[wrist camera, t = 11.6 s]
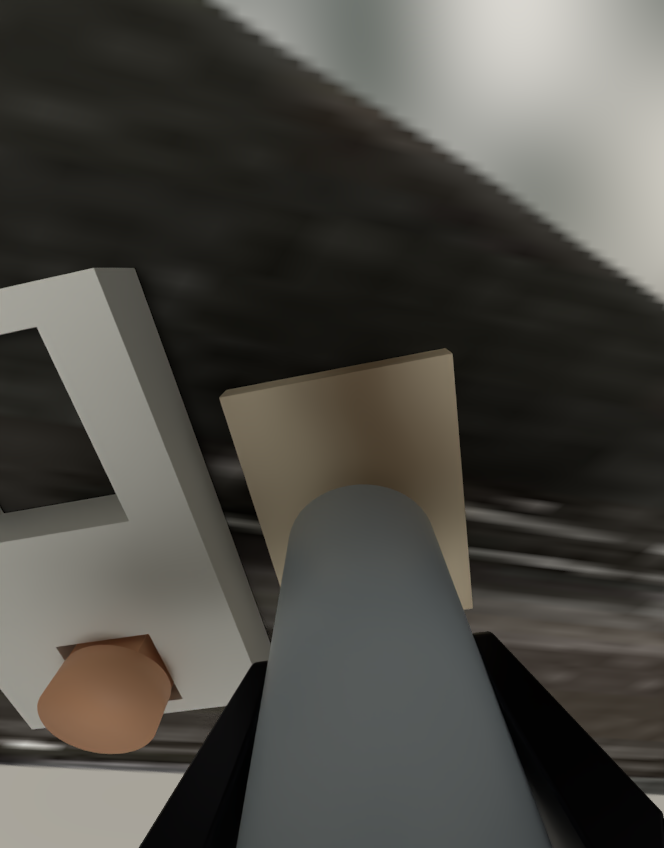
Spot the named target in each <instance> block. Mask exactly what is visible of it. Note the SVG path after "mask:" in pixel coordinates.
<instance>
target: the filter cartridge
mask: <svg viewBox="0 0 664 848" xmlns="http://www.w3.org/2000/svg"><path fill="white" fill-rule="evenodd" d="M236 848H553V847H552V844H551V841H550V839H549V836H548V833H547V831H546V828H545V825H544V823H543V820H542V817H541V815H540V812H539V809H538V807H537V804H536V801H535V799H534V796H533V793H532V791H531V788H530V785H529V783H528V780H527V777H526V775H525V772H524V769H523V767H522V764H521V761H520V759H519V756H518V753H517V751H516V748H515V746H514V743H513V740H512V738H511V735H510V732H509V730H508V727H507V724H506V722H505V719H504V716H503V714H502V711H501V708H500V706H499V703H498V700H497V698H496V695H495V692H494V690H493V687H492V685H491V682H490V679H489V677H488V674H487V671H486V668H485V666H484V663H483V661H482V658H481V655H480V653H479V650H478V647H477V645H476V642H475V639H474V637H473V634H472V631H471V629H470V626H469V623H468V621H467V618H466V615H465V613H464V610H463V607H462V605H461V602H460V599H459V597H458V594H457V591H456V589H455V586H454V583H453V581H452V578H451V575H450V573H449V570H448V567H447V565H446V562H445V559H444V557H443V554H442V551H441V549H440V546H439V543H438V541H437V538H436V536H435V533H434V530H433V528H432V525H431V522H430V520H429V518H428V517H427V515H426V513H425V512H424V511H423V510H422V508H421V507H420V506H419V505H418V504H417V503H415V502H414V501H413V500H412V499H410V498H409V497H407V496H406V495H404V494H402V493H400V492H398V491H395V490H393V489H390V488H386V487H382V486H377V485H367V484H358V485H349V486H344V487H340V488H337V489H334V490H331V491H328V492H326V493H324V494H322V495H320V496H319V497H317V498H316V499H314V500H313V501H311V502H310V503H309V504H308V505H307V506H306V507H305V508H304V509H303V510H302V511H301V512H300V513H299V515H298V516H297V518H296V519H295V521H294V523H293V526H292V528H291V531H290V535H289V540H288V546H287V552H286V558H285V564H284V570H283V576H282V582H281V587H280V593H279V599H278V605H277V611H276V617H275V623H274V629H273V634H272V640H271V646H270V652H269V658H268V664H267V670H266V676H265V681H264V687H263V693H262V699H261V705H260V711H259V717H258V723H257V728H256V734H255V740H254V746H253V752H252V758H251V764H250V770H249V775H248V781H247V787H246V793H245V799H244V805H243V811H242V817H241V823H240V828H239V834H238V840H237V846H236Z"/></svg>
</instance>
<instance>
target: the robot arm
mask: <svg viewBox="0 0 664 848" xmlns="http://www.w3.org/2000/svg"><path fill="white" fill-rule="evenodd" d="M473 637H474V639H475V642H476V645H477V647H478V650H479V653H480V655H481V658H482V661H483V663H484V666H485V668H486V671H487V674H488V677H489V679H490V682H491V685H492V687H493V690H494V692H495V695H496V698H497V700H498V703H499V706H500V708H501V711H502V714H503V716H504V719H505V722H506V724H507V727H508V730H509V732H510V735H511V738H512V740H513V743H514V746H515V748H516V751H517V753H518V756H519V759H520V761H521V764H522V767H523V769H524V772H525V775H526V777H527V780H528V783H529V785H530V788H531V791H532V793H533V796H534V799H535V801H536V804H537V807H538V809H539V812H540V815H541V817H542V820H543V823H544V825H545V828H546V831H547V833H548V836H549V839H550V841H551V844H552V847H553V848H664V818H663V813H662V811H661V810H660V809H659V808H658V807H657V806H656V805H655V804H654V803H653V802H652V801H651V800H650V799H649V798H648V797H647V795H646V794H645V793H644V792H643V791H642V790H641V789H640V788H639V787H638V786H637V785H636V784H635V783H634V782H633V781H632V780H631V779H630V778H629V777H628V775H627V774H626V773H625V772H624V771H623V770H622V769H621V768H620V767H619V766H618V765H617V764H616V763H615V762H614V761H613V760H612V759H611V758H610V756H609V755H608V754H607V753H606V752H605V751H604V750H603V749H602V748H601V747H600V746H599V745H598V744H597V743H596V742H595V741H594V740H593V739H592V737H591V736H590V735H589V734H588V733H587V732H586V731H585V730H584V729H583V728H582V727H581V726H580V725H579V724H578V723H577V722H576V721H575V720H574V719H573V717H572V716H571V715H570V714H569V713H568V712H567V711H566V710H565V709H564V708H563V707H562V706H561V705H560V704H559V703H558V702H557V701H556V700H555V698H554V697H553V696H552V695H551V694H550V693H549V692H548V691H547V690H546V689H545V688H544V687H543V686H542V685H541V684H540V683H539V682H538V681H537V680H536V678H535V677H534V676H533V675H532V674H531V673H530V672H529V671H528V670H527V669H526V668H525V667H524V666H523V665H522V664H521V663H520V662H519V661H518V659H517V658H516V657H515V656H514V655H513V654H512V653H511V652H510V651H509V650H508V649H507V648H506V647H505V646H504V645H503V644H502V643H501V642H500V640H499V639H498V638H497V637H496V636H495V635H494V634H493V633H491V632H488V631H487V632H479V633H473ZM267 664H268V660H267V661H260V662H255V663H253V664H252V665H251V667H250V668H249V670H248V672H247V673H246V675H245V676H244V678H243V680H242V681H241V683H240V685H239V686H238V688H237V689H236V691H235V693H234V694H233V696H232V697H231V699H230V701H229V702H228V704H227V706H226V707H225V709H224V710H223V712H222V714H221V715H220V717H219V719H218V720H217V722H216V723H215V725H214V727H213V728H212V730H211V732H210V733H209V735H208V736H207V738H206V740H205V741H204V743H203V745H202V746H201V748H200V749H199V751H198V753H197V754H196V756H195V757H194V759H193V761H192V762H191V764H190V766H189V767H188V769H187V770H186V772H185V774H184V775H183V777H182V779H181V780H180V782H179V783H178V785H177V787H176V788H175V790H174V792H173V793H172V795H171V796H170V798H169V800H168V801H167V803H166V805H165V806H164V808H163V809H162V811H161V813H160V814H159V816H158V817H157V819H156V821H155V822H154V824H153V826H152V827H151V829H150V831H149V832H148V834H147V835H146V837H145V839H144V840H143V842H142V843H141V845H140V847H139V848H236V846H237V840H238V834H239V828H240V823H241V817H242V811H243V805H244V799H245V793H246V787H247V781H248V775H249V770H250V764H251V758H252V752H253V746H254V740H255V734H256V728H257V723H258V717H259V711H260V705H261V699H262V693H263V687H264V681H265V676H266V670H267Z"/></svg>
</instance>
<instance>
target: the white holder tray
mask: <svg viewBox="0 0 664 848" xmlns="http://www.w3.org/2000/svg"><path fill="white" fill-rule="evenodd" d="M36 327H37V329H38V331H39V333H40V335H41V337H42V339H43V341H44V344H45V346H46V348H47V350H48V352H49V354H50V356H51V358H52V360H53V362H54V365H55V367H56V369H57V371H58V373H59V375H60V377H61V379H62V381H63V383H64V386H65V388H66V390H67V392H68V394H69V396H70V398H71V400H72V402H73V404H74V407H75V409H76V411H77V413H78V415H79V417H80V419H81V421H82V423H83V425H84V428H85V430H86V432H87V434H88V436H89V438H90V440H91V442H92V444H93V446H94V449H95V451H96V453H97V455H98V457H99V459H100V461H101V463H102V465H103V467H104V470H105V472H106V474H107V476H108V478H109V480H110V482H111V484H112V486H113V488H114V491H115V493H116V494H114V495H108V496H102V497H96V498H90V499H85V500H79V501H73V502H67V503H62V504H56V505H50V506H44V507H38V508H33V509H27V510H21V511H15V512H9V513H3V511H2V509H1V508H0V689H1V690H2V692H3V693H4V694H5V696H6V697H7V698H8V699H9V701H10V702H11V703H12V705H13V706H14V707H15V708H16V710H17V711H18V712H19V713H20V715H21V716H22V717H23V719H24V720H25V721H26V722H27V724H28V725H29V726H30V728H31V729H40V728H46V727H45V726H44V725H43V723H42V722H41V720H40V718H39V715H38V711H37V704H38V700H39V698H40V696H41V695H42V693H43V692H44V690H45V689H46V687H47V686H48V684H49V683H50V682H51V680H52V679H53V677H54V676H55V674H56V673H57V671H58V670H59V668H60V667H61V666H62V664H63V663H64V661H65V660H66V659H67V657H68V656H69V655H70V653H71V652H72V651H73V649H74V648H75V646H76V645H77V644H81V643H88V642H95V641H102V640H109V639H116V638H123V637H131V636H138V635H145V634H149V635H150V637H151V639H152V641H153V643H154V645H155V647H156V649H157V651H158V653H159V654H160V656H161V658H162V660H163V662H164V664H165V666H166V668H167V670H168V672H169V674H170V676H171V677H172V679H173V681H174V683H173V686H172V689H171V695H170V698H169V700H168V703H167V705H166V708H165V711H164V713H171V712H180V711H188V710H196V709H204V708H212V707H221V706H227V704H228V702H229V701H230V699H231V697H232V696H233V694H234V693H235V691H236V689H237V688H238V686H239V685H240V683H241V681H242V680H243V678H244V676H245V675H246V673H247V672H248V670H249V668H250V667H251V665H252V664H253V663H255V662H260V661H267V660H268V658H269V652H270V646H271V644H270V641H269V638H268V635H267V632H266V630H265V627H264V624H263V621H262V619H261V616H260V613H259V610H258V608H257V605H256V602H255V599H254V597H253V594H252V591H251V588H250V586H249V583H248V580H247V577H246V574H245V572H244V569H243V566H242V563H241V561H240V558H239V555H238V552H237V550H236V547H235V544H234V541H233V539H232V536H231V533H230V530H229V528H228V525H227V522H226V519H225V516H224V514H223V511H222V508H221V505H220V503H219V500H218V497H217V494H216V492H215V489H214V486H213V483H212V481H211V478H210V475H209V472H208V470H207V467H206V464H205V461H204V458H203V456H202V453H201V450H200V447H199V445H198V442H197V439H196V436H195V434H194V431H193V428H192V425H191V423H190V420H189V417H188V414H187V412H186V409H185V406H184V403H183V400H182V398H181V395H180V392H179V389H178V387H177V384H176V381H175V378H174V376H173V373H172V370H171V367H170V365H169V362H168V359H167V356H166V354H165V351H164V348H163V345H162V343H161V340H160V337H159V334H158V331H157V329H156V326H155V323H154V320H153V318H152V315H151V312H150V309H149V307H148V304H147V301H146V298H145V296H144V293H143V290H142V287H141V285H140V282H139V279H138V276H137V273H136V271H135V268H91V269H87V270H82V271H78V272H73V273H69V274H64V275H60V276H55V277H51V278H47V279H42V280H38V281H33V282H29V283H24V284H20V285H15V286H11V287H7V288H2V289H0V335H4V334H8V333H13V332H18V331H22V330H27V329H32V328H36Z"/></svg>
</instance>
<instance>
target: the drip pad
mask: <svg viewBox="0 0 664 848" xmlns="http://www.w3.org/2000/svg"><path fill="white" fill-rule="evenodd" d="M219 399H220V402H221V405H222V408H223V411H224V415H225V418H226V421H227V424H228V427H229V430H230V433H231V436H232V439H233V442H234V445H235V449H236V452H237V455H238V458H239V461H240V464H241V467H242V470H243V473H244V476H245V479H246V483H247V486H248V489H249V492H250V495H251V498H252V501H253V504H254V507H255V510H256V513H257V517H258V520H259V523H260V526H261V529H262V532H263V535H264V538H265V541H266V544H267V547H268V551H269V554H270V557H271V560H272V563H273V566H274V569H275V572H276V575H277V578H278V581H279V585H280V587H281V582H282V576H283V570H284V564H285V558H286V552H287V546H288V540H289V535H290V531H291V528H292V526H293V523H294V521H295V519H296V518H297V516H298V515H299V513H300V512H301V511H302V510H303V509H304V508H305V507H306V506H307V505H308V504H309V503H310V502H311V501H313V500H314V499H316V498H317V497H319V496H320V495H322V494H324V493H326V492H328V491H331V490H334V489H337V488H340V487H344V486H349V485H358V484H367V485H377V486H382V487H386V488H390V489H393V490H395V491H398V492H400V493H402V494H404V495H406V496H407V497H409V498H410V499H412V500H413V501H414V502H415V503H417V504H418V505H419V506H420V507H421V508H422V510H423V511H424V512H425V513H426V515H427V517H428V518H429V520H430V522H431V525H432V528H433V530H434V533H435V536H436V538H437V541H438V543H439V546H440V549H441V551H442V554H443V557H444V559H445V562H446V565H447V567H448V570H449V573H450V575H451V578H452V581H453V583H454V586H455V589H456V591H457V594H458V597H459V599H460V602H461V605H462V607H463V610H465V609H473V604H472V591H471V579H470V566H469V554H468V541H467V529H466V516H465V504H464V491H463V479H462V466H461V454H460V441H459V429H458V416H457V404H456V391H455V379H454V366H453V354H452V353H451V352H450V351H448V350H447V349H446V348H443V349H438V350H432V351H427V352H422V353H417V354H412V355H406V356H401V357H396V358H391V359H385V360H380V361H375V362H370V363H365V364H359V365H354V366H349V367H344V368H338V369H333V370H328V371H323V372H318V373H312V374H307V375H302V376H297V377H291V378H286V379H281V380H276V381H270V382H265V383H260V384H255V385H250V386H244V387H239V388H234V389H229V390H226V391H225V392H224V393H223V394H222V395H221V396H220V397H219Z"/></svg>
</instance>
